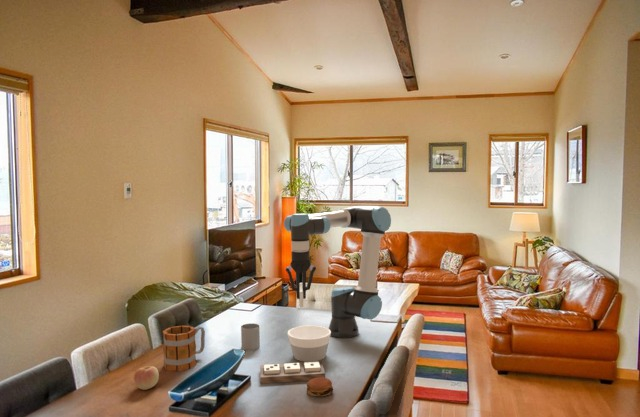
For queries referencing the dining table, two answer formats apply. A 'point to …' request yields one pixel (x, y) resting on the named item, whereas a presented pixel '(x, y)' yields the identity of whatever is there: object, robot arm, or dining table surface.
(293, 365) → the tile two
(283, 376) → the board
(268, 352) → the dining table surface
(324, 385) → the burger
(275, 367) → the tile three
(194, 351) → the mug
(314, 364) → the tile one
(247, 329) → the cup
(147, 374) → the peach
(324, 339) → the bowl
